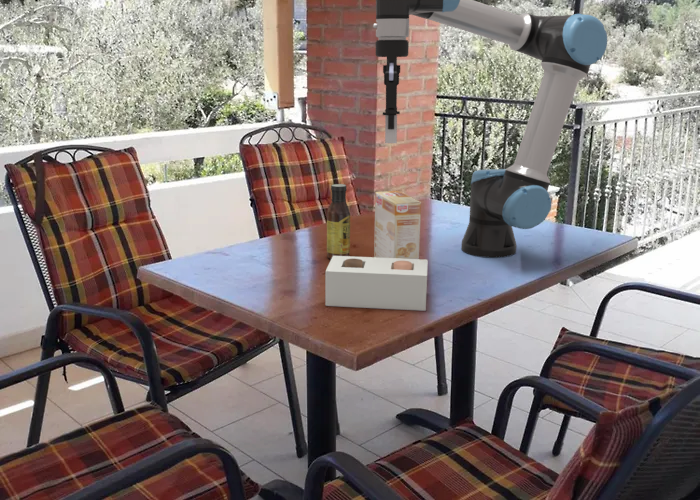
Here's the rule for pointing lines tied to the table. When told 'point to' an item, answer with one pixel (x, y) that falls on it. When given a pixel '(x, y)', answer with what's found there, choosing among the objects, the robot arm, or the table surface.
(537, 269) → the table surface
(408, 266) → the peg
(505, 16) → the robot arm
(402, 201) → the coffeecake box
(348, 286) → the block
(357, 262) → the peg
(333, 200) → the sauce bottle
